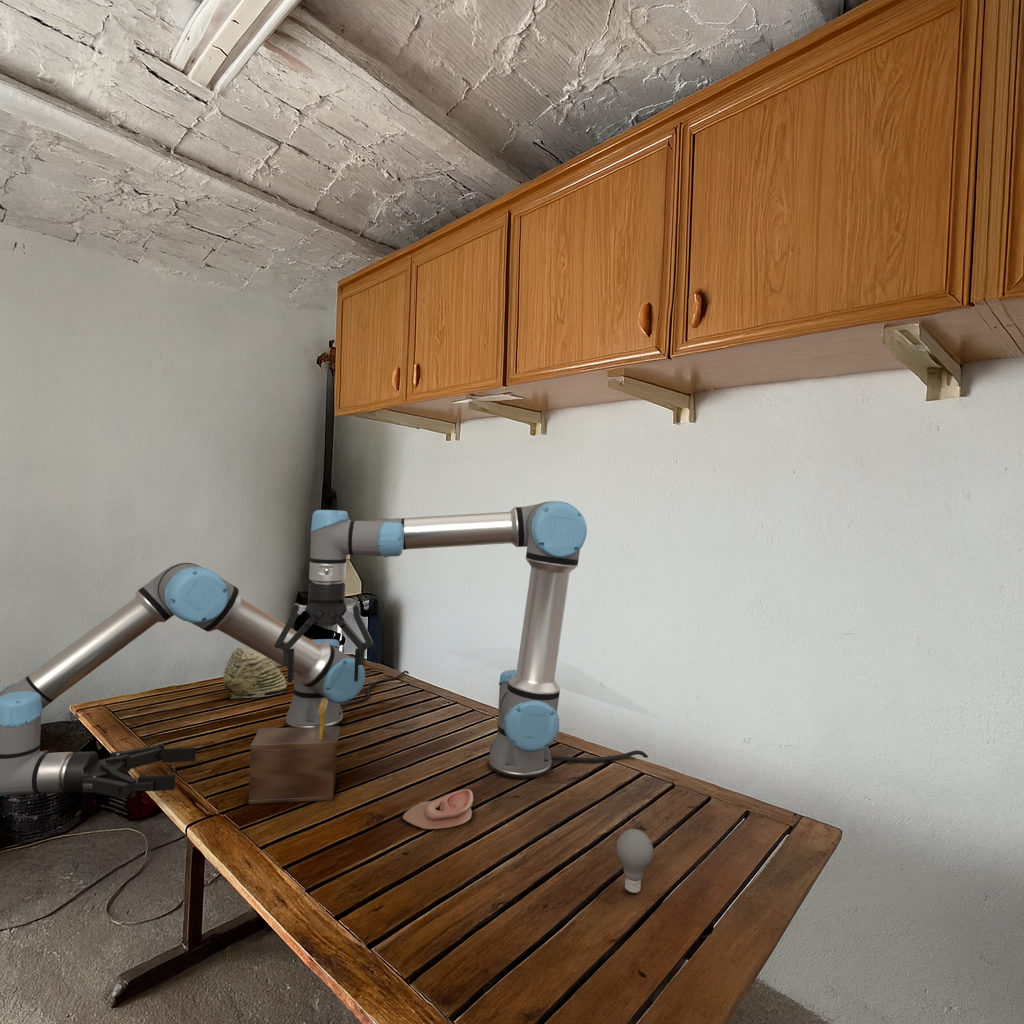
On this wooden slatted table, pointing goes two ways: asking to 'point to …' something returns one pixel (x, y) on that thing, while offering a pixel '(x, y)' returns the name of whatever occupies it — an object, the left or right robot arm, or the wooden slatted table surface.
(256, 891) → the wooden slatted table surface
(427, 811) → the anatomical model
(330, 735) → the lid
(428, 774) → the wooden slatted table surface
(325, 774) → the chest
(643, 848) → the light bulb
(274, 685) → the fossil
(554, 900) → the wooden slatted table surface
